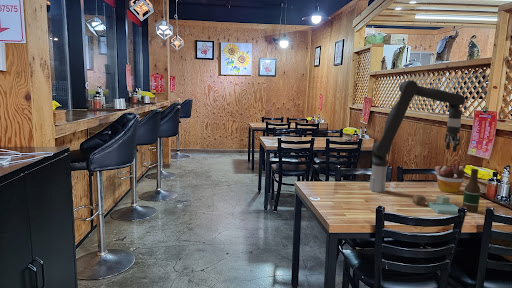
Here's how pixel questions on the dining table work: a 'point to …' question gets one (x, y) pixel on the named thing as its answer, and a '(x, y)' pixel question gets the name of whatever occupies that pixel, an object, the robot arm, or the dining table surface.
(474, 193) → the beer bottle
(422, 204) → the walnut block
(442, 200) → the sage block
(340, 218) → the dining table surface
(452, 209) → the teal tray
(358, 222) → the dining table surface
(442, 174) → the bucket of meat
